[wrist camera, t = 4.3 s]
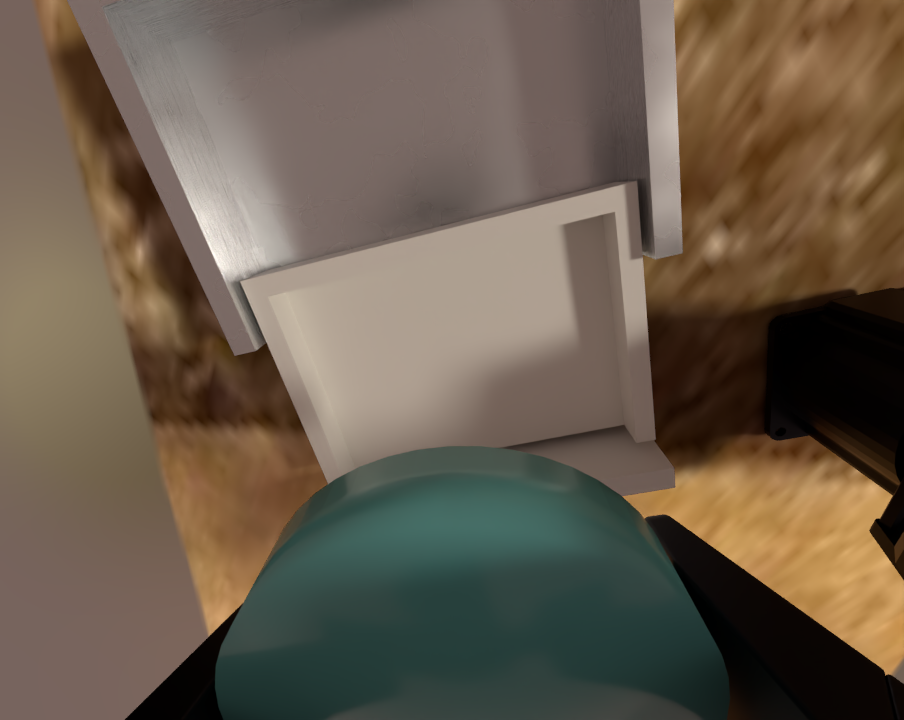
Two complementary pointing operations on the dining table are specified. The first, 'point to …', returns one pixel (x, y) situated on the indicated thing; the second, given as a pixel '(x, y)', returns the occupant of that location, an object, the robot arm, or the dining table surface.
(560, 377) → the tray
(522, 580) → the teal hemisphere
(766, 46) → the dining table surface
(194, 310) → the dining table surface
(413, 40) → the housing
